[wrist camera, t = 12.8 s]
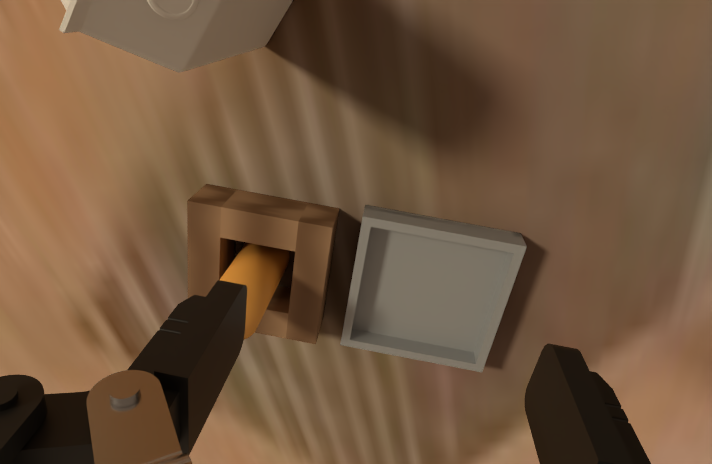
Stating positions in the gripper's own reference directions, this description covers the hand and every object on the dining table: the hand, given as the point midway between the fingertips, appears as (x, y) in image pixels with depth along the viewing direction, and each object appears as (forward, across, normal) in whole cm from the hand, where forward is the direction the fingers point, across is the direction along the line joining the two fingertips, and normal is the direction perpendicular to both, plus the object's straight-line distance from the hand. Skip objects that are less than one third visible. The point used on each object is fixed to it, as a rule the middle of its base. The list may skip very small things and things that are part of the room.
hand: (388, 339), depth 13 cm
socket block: (+28, +10, +15) cm, 33 cm away
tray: (+28, -5, +15) cm, 32 cm away
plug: (+28, +10, +15) cm, 33 cm away
